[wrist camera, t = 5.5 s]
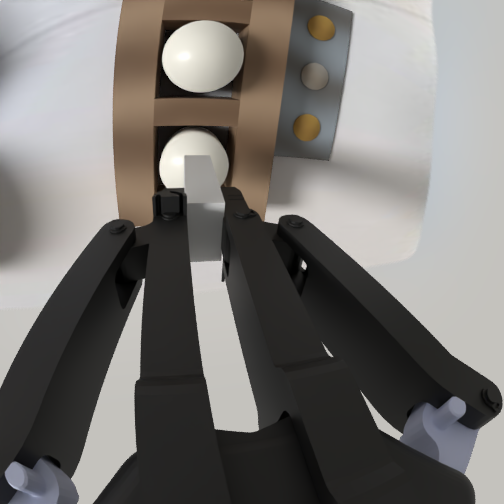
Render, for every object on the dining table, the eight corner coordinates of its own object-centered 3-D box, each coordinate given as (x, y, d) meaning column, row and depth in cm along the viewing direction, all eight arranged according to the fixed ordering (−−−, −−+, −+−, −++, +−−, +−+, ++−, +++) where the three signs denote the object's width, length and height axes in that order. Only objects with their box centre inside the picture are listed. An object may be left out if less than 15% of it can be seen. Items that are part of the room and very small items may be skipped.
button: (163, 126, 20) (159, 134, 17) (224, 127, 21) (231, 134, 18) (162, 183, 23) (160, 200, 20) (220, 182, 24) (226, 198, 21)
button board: (148, -57, 10) (143, -76, 7) (354, -26, 14) (377, -34, 11) (128, 206, 24) (120, 227, 21) (317, 204, 29) (335, 223, 26)
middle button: (169, 29, 14) (166, 20, 12) (237, 32, 16) (247, 24, 13) (163, 91, 17) (159, 92, 14) (230, 92, 18) (239, 94, 16)
